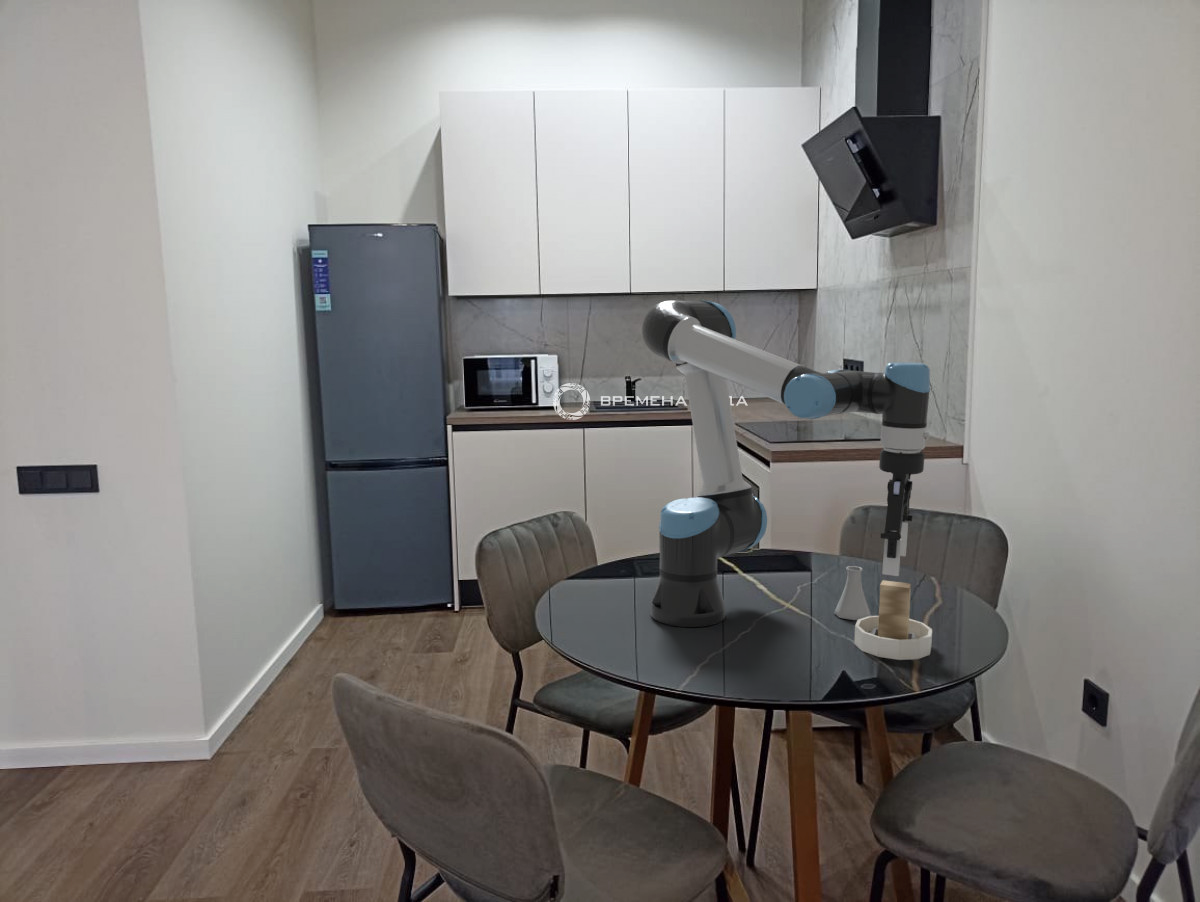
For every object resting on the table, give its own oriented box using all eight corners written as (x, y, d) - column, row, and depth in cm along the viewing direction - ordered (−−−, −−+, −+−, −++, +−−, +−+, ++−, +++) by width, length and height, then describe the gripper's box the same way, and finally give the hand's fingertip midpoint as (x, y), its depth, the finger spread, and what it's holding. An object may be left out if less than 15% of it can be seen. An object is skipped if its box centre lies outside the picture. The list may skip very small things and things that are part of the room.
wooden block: (877, 642, 160) (880, 584, 158) (879, 637, 162) (882, 580, 161) (906, 646, 158) (909, 588, 156) (908, 641, 160) (910, 583, 159)
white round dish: (850, 652, 157) (851, 634, 156) (860, 629, 169) (861, 611, 168) (928, 664, 152) (929, 645, 151) (932, 639, 164) (933, 621, 163)
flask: (872, 622, 173) (874, 574, 171) (835, 620, 174) (837, 572, 173) (869, 611, 180) (871, 564, 178) (833, 608, 181) (834, 562, 180)
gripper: (919, 462, 142) (910, 586, 145) (929, 441, 165) (921, 550, 168) (871, 458, 145) (864, 580, 148) (888, 439, 168) (880, 545, 171)
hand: (894, 564), depth 158 cm, fingers open, 13 cm apart
